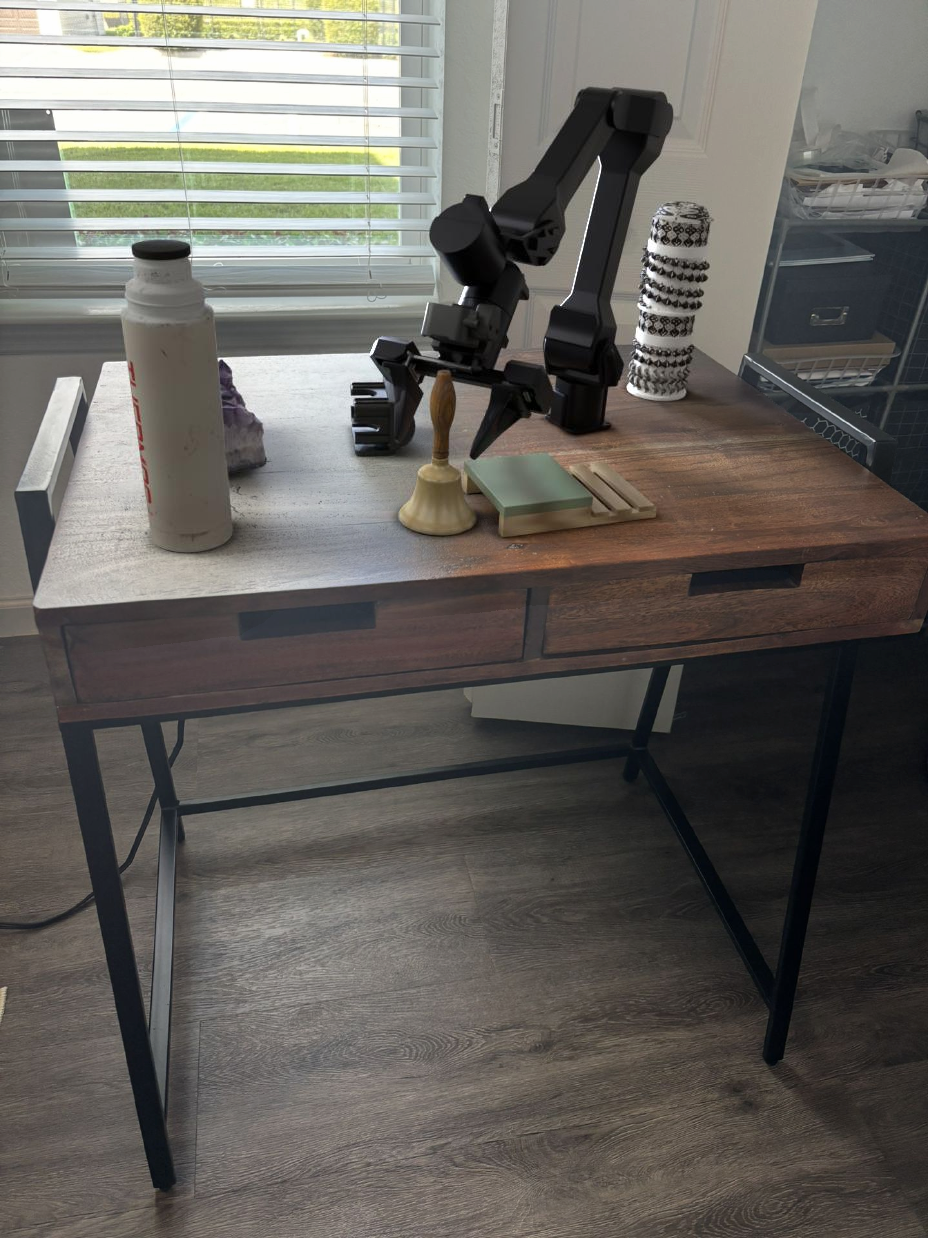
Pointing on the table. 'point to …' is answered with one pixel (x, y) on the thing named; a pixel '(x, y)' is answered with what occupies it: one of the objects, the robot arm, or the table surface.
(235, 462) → the geode
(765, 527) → the table surface
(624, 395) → the table surface
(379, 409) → the end cap
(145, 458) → the thermos bottle
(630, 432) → the table surface
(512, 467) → the rack
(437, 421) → the hand bell
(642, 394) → the decorative candle
